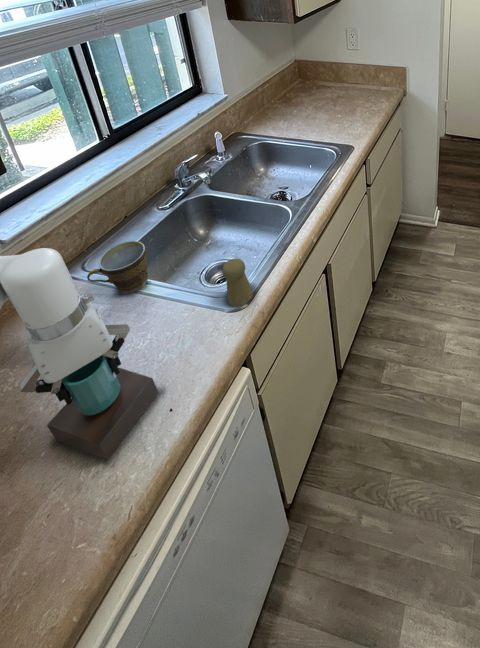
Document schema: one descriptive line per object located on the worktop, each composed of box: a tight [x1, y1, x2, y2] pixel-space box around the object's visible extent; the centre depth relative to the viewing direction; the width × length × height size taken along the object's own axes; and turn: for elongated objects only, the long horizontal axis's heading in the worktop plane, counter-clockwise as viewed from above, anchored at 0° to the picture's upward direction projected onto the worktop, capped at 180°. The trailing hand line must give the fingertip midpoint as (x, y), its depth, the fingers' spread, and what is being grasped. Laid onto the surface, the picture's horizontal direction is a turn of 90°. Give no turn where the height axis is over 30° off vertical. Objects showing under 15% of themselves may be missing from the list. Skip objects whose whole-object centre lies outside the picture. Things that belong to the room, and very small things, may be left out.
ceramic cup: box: [86, 240, 149, 295], centre depth 110 cm, size 13×10×10 cm
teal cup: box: [62, 355, 120, 415], centre depth 79 cm, size 7×7×9 cm
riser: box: [46, 367, 160, 461], centre depth 83 cm, size 12×12×5 cm
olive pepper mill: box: [221, 257, 254, 307], centre depth 107 cm, size 6×6×11 cm
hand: (92, 382), depth 80 cm, fingers closed on teal cup, 6 cm apart
